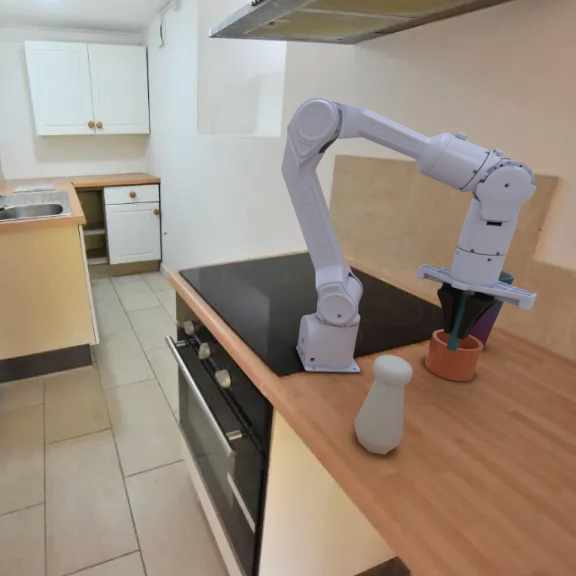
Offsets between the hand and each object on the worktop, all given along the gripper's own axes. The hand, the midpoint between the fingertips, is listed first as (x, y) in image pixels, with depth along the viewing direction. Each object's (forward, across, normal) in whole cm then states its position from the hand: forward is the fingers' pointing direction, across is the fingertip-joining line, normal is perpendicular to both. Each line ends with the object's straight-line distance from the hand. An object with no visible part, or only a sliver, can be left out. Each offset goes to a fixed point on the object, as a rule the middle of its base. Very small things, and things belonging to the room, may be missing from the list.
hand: (455, 334), depth 58 cm
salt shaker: (+10, +2, -20) cm, 22 cm away
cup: (+10, -4, +19) cm, 22 cm away
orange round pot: (+10, -2, +7) cm, 12 cm away
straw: (+3, 0, 0) cm, 3 cm away
